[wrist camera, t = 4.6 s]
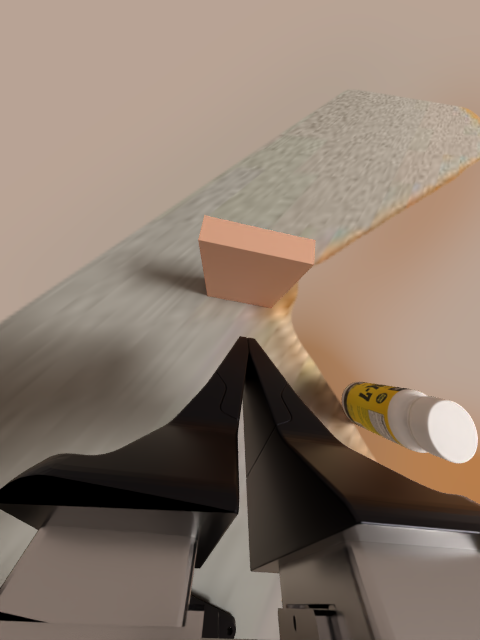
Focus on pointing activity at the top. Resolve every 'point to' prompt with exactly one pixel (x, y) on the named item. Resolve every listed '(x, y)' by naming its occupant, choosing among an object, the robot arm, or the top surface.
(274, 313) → the top surface
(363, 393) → the supplement bottle
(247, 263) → the tile
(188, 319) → the top surface
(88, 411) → the top surface
